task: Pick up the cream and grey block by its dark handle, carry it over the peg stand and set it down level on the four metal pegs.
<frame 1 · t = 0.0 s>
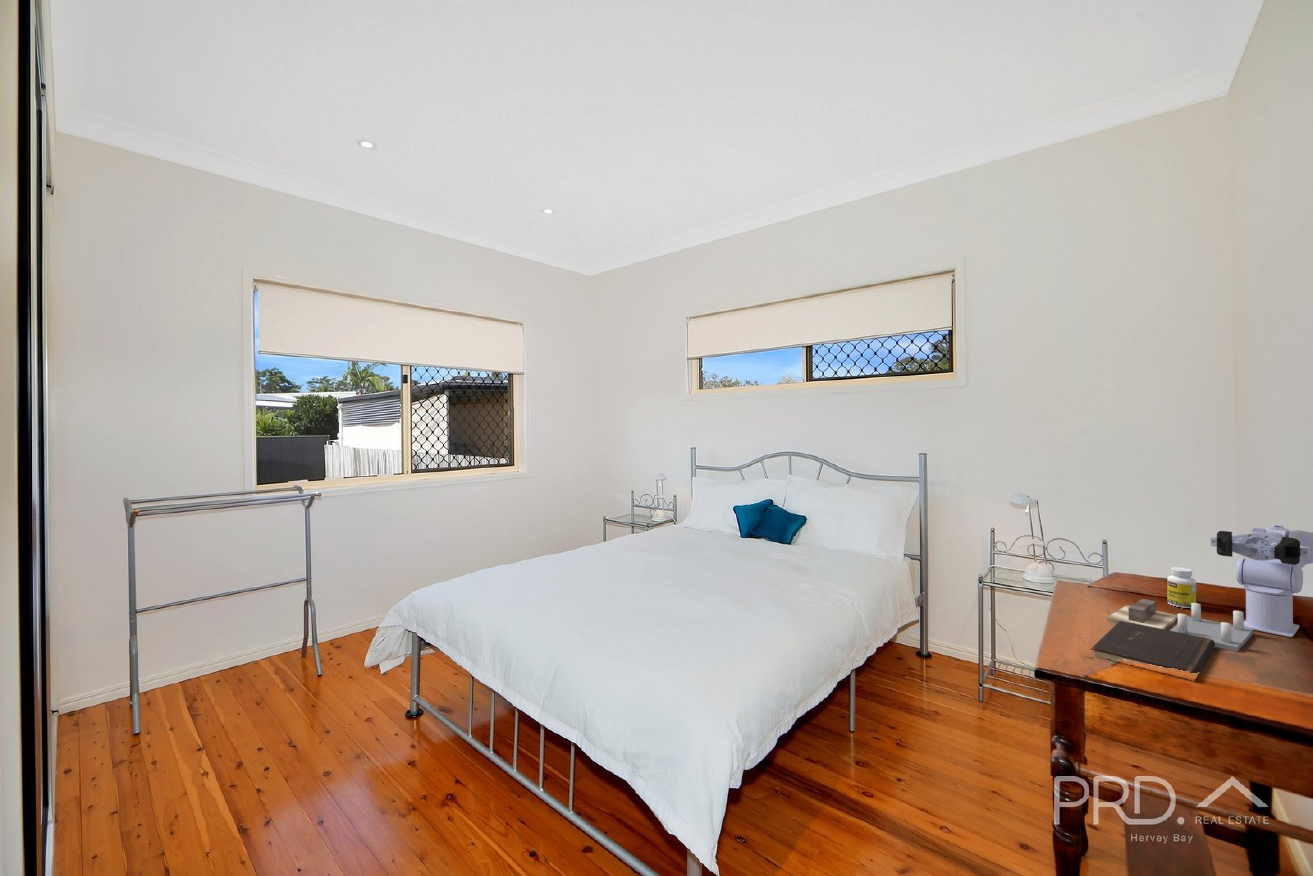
hand: (1249, 549, 115), 22 cm above the table, tool horizontal, fingers open, 7 cm apart
supplement bottle: (1181, 606, 142), on the table
hardcover book: (1153, 655, 117), on the table
peg stand: (1210, 634, 124), on the table
cream and grey block: (1142, 622, 134), on the table
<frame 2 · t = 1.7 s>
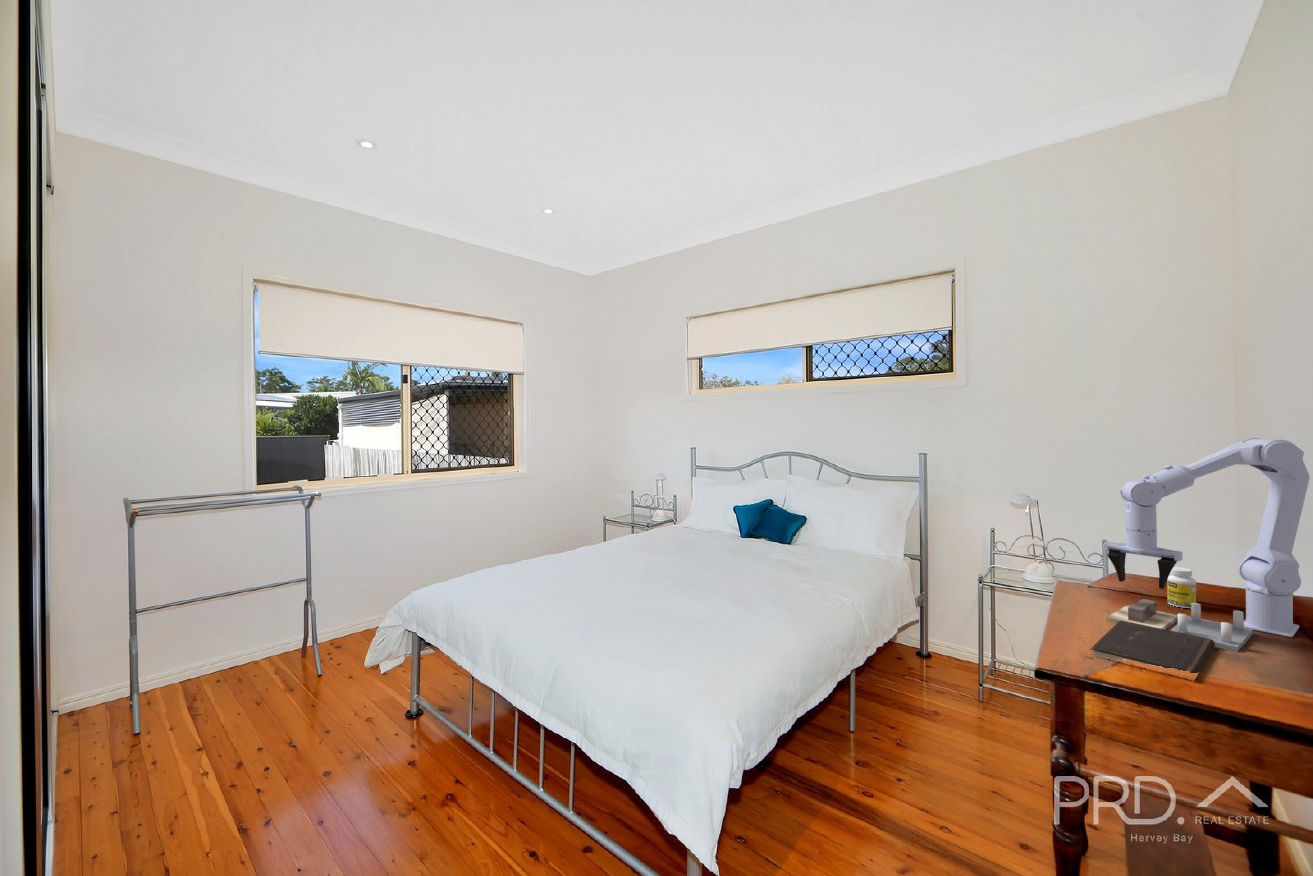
hand: (1141, 584, 134), 9 cm above the table, tool pointing down, fingers open, 7 cm apart
nothing on the table moved.
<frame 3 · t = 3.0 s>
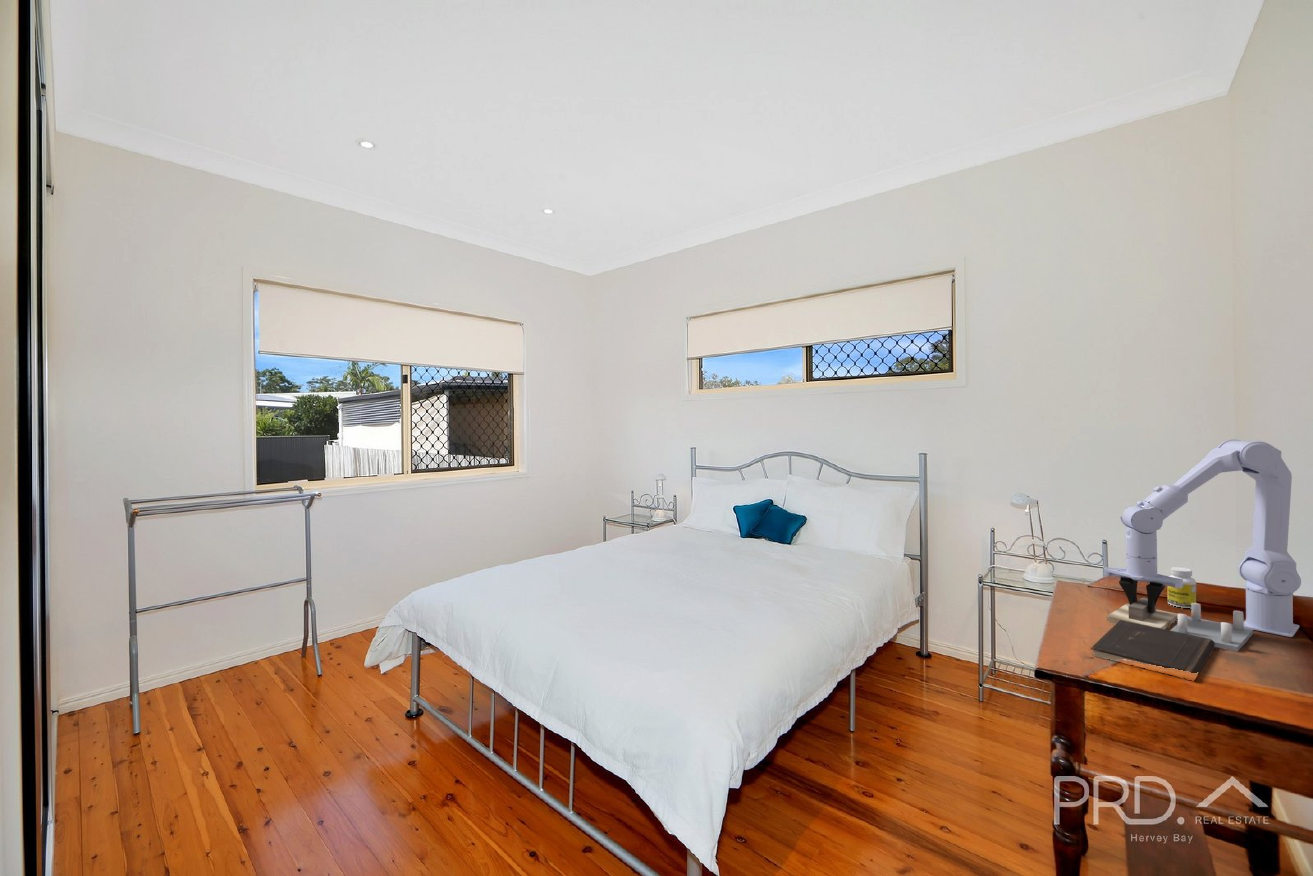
hand: (1142, 610, 134), 2 cm above the table, tool pointing down, fingers closed on cream and grey block, 3 cm apart
cream and grey block: (1142, 621, 134), on the table, touching gripper
everything else where it was.
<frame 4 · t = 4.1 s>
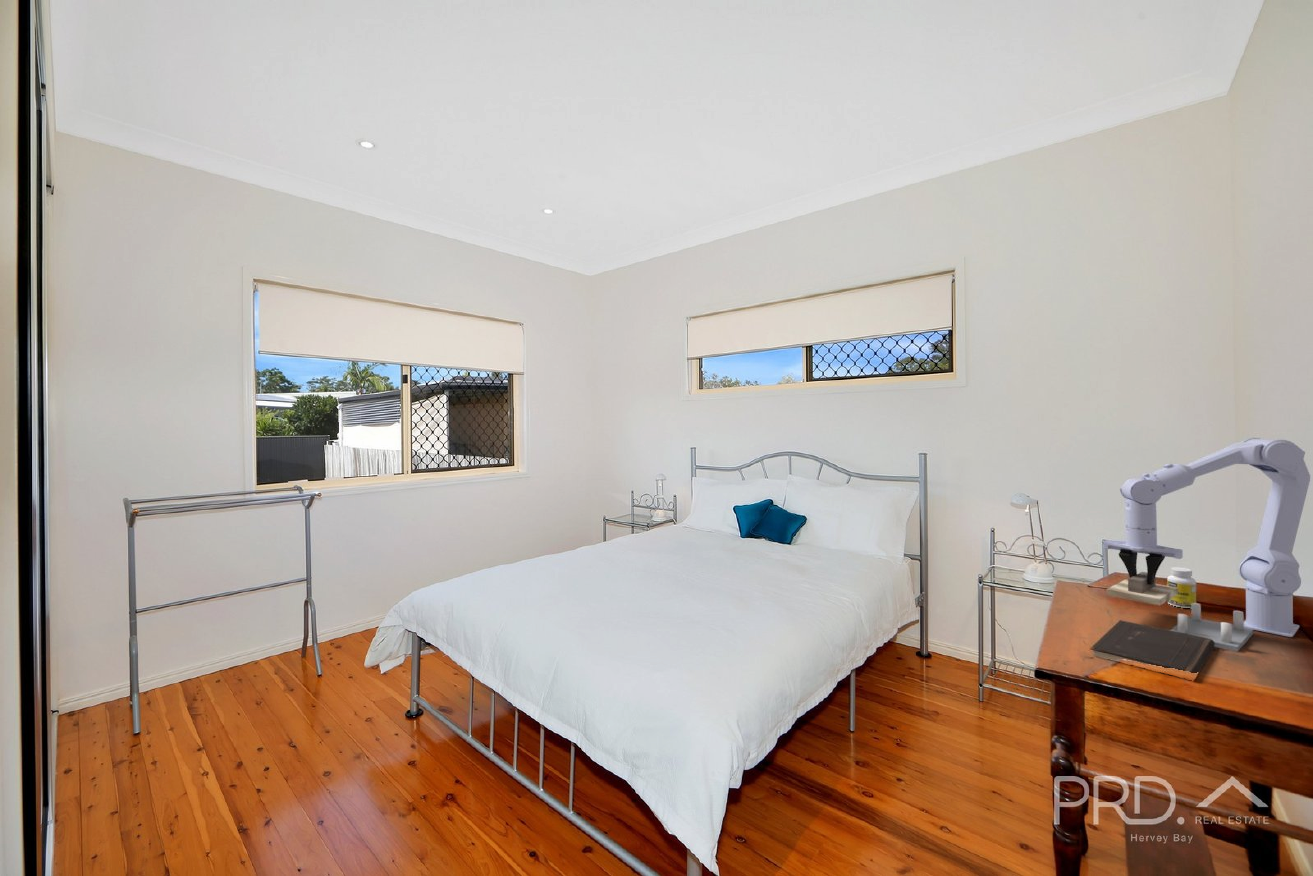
hand: (1142, 582, 134), 9 cm above the table, tool pointing down, fingers closed on cream and grey block, 3 cm apart
cream and grey block: (1142, 594, 134), point 6 cm above the table, touching gripper
everything else where it was.
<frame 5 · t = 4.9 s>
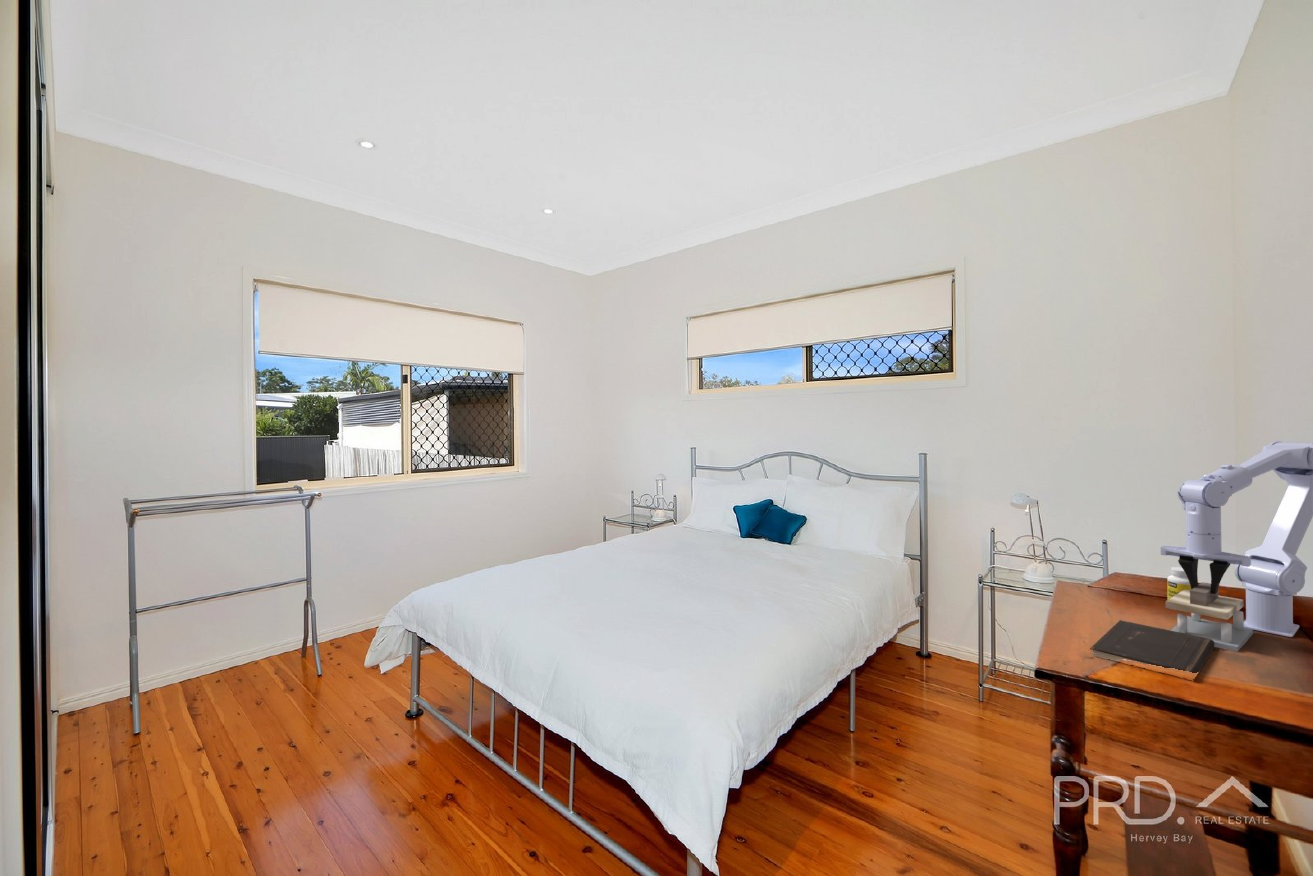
hand: (1204, 591, 125), 10 cm above the table, tool pointing down, fingers closed on cream and grey block, 3 cm apart
cream and grey block: (1204, 607, 125), point 6 cm above the table, touching gripper
everything else where it was.
when the fingers open (8 cm above the table, at t = 5.6 s): cream and grey block stays where it is, resting on peg stand.
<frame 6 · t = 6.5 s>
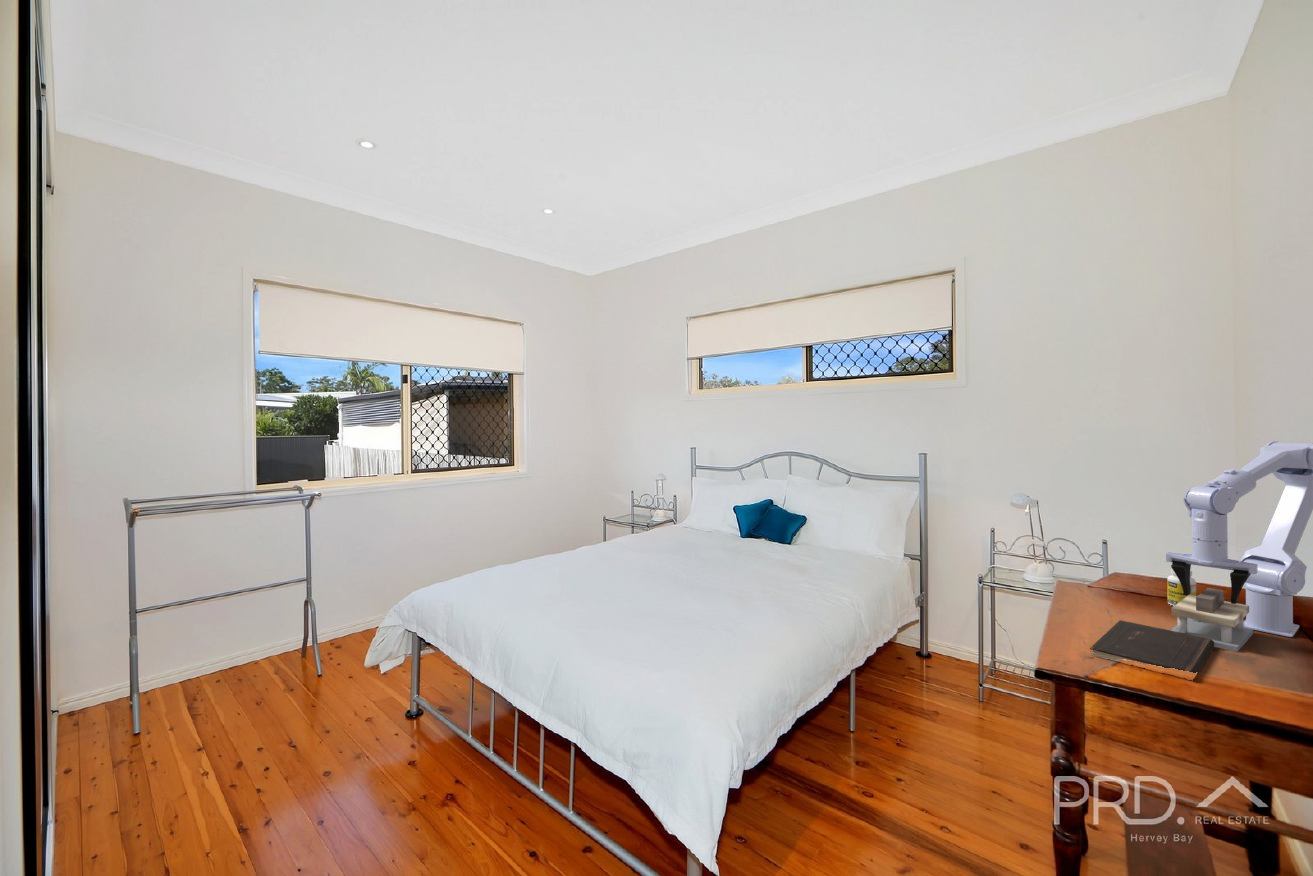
hand: (1210, 598, 124), 8 cm above the table, tool pointing down, fingers open, 7 cm apart
cream and grey block: (1210, 613, 124), point 5 cm above the table, touching peg stand
everything else where it was.
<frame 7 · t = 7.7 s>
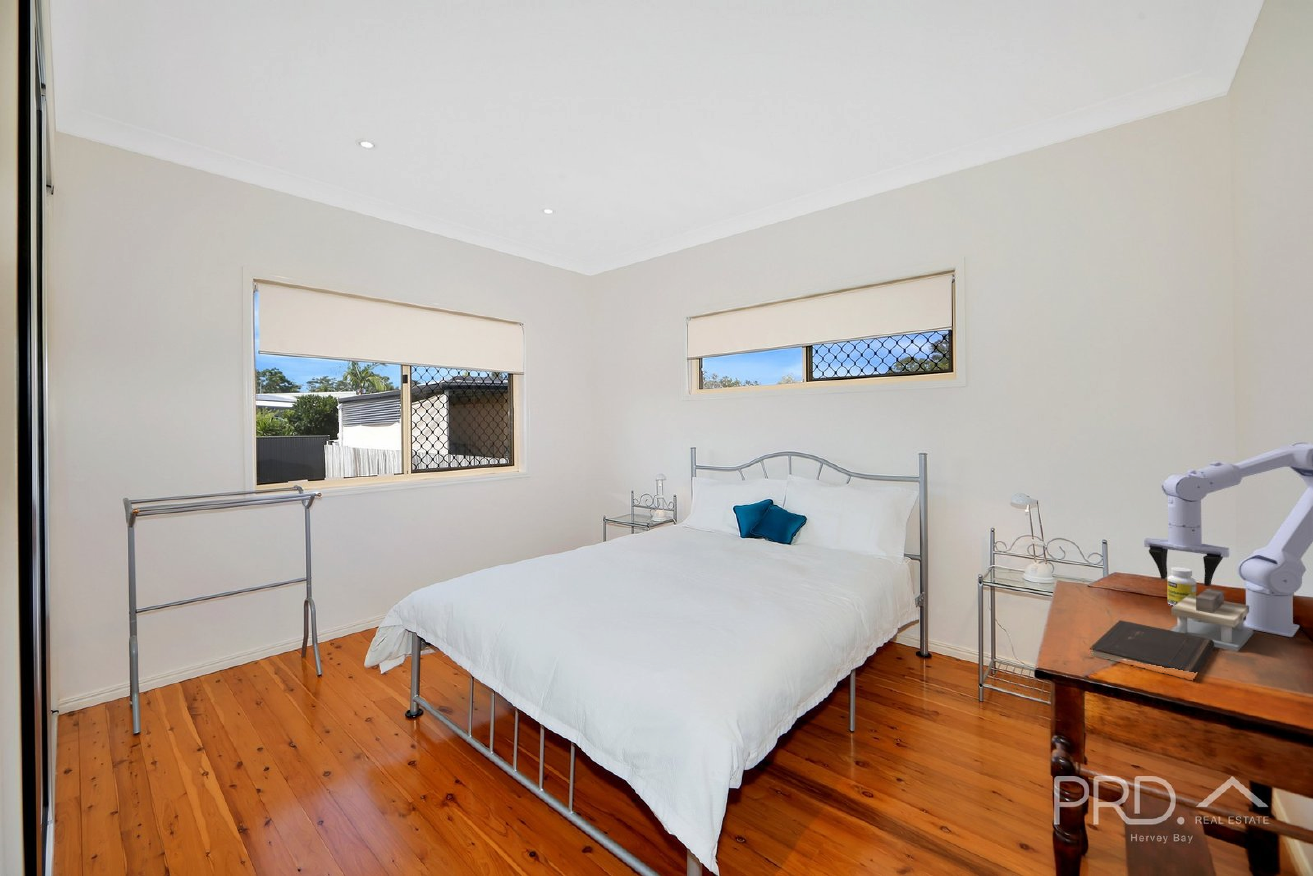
hand: (1185, 581, 130), 10 cm above the table, tool pointing down, fingers open, 7 cm apart
nothing on the table moved.
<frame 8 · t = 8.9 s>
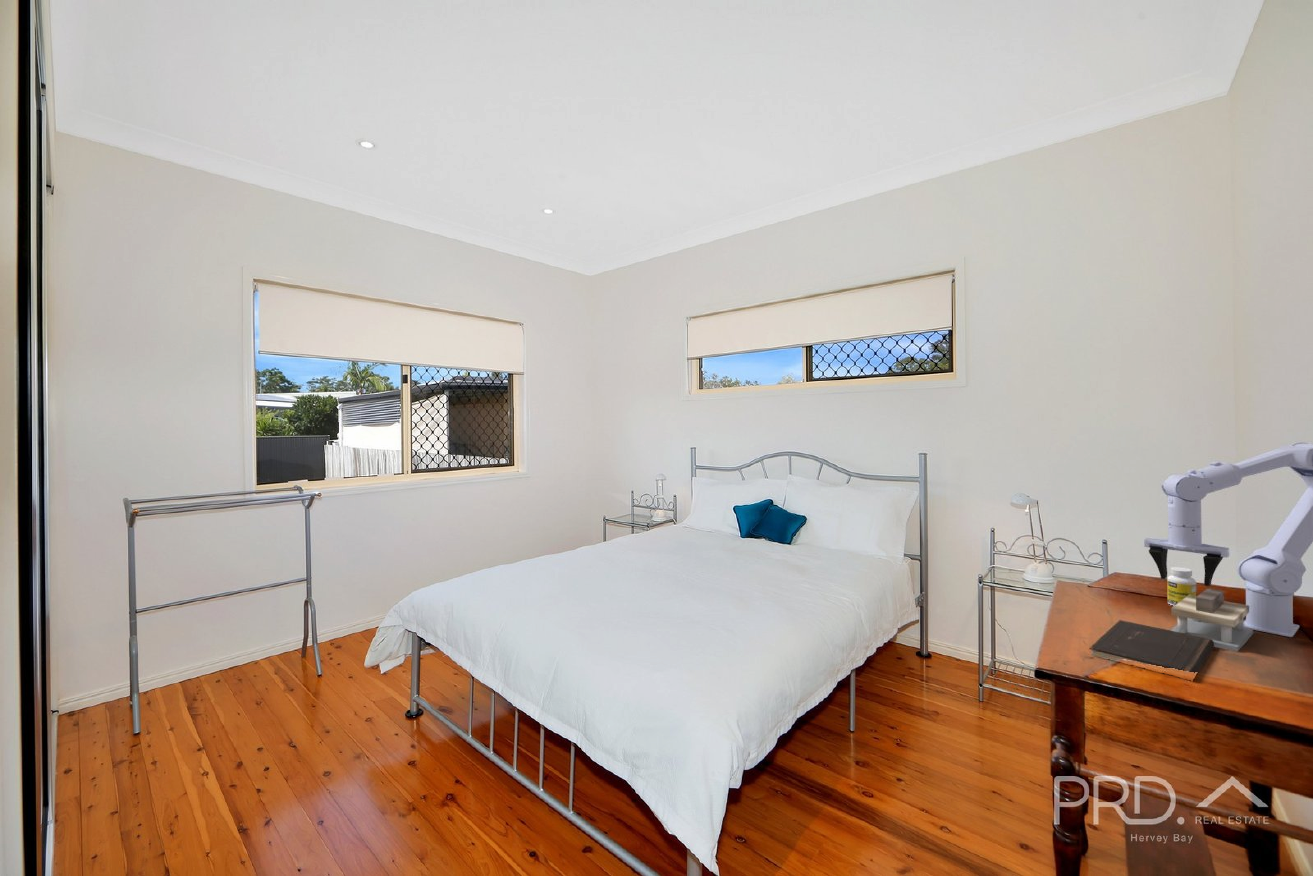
hand: (1185, 581, 130), 10 cm above the table, tool pointing down, fingers open, 7 cm apart
nothing on the table moved.
at the end: cream and grey block 0.1 cm off-centre on the peg stand, point 5.0 cm above the peg stand's base; cream and grey block tilted 0°; the gripper is holding nothing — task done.
